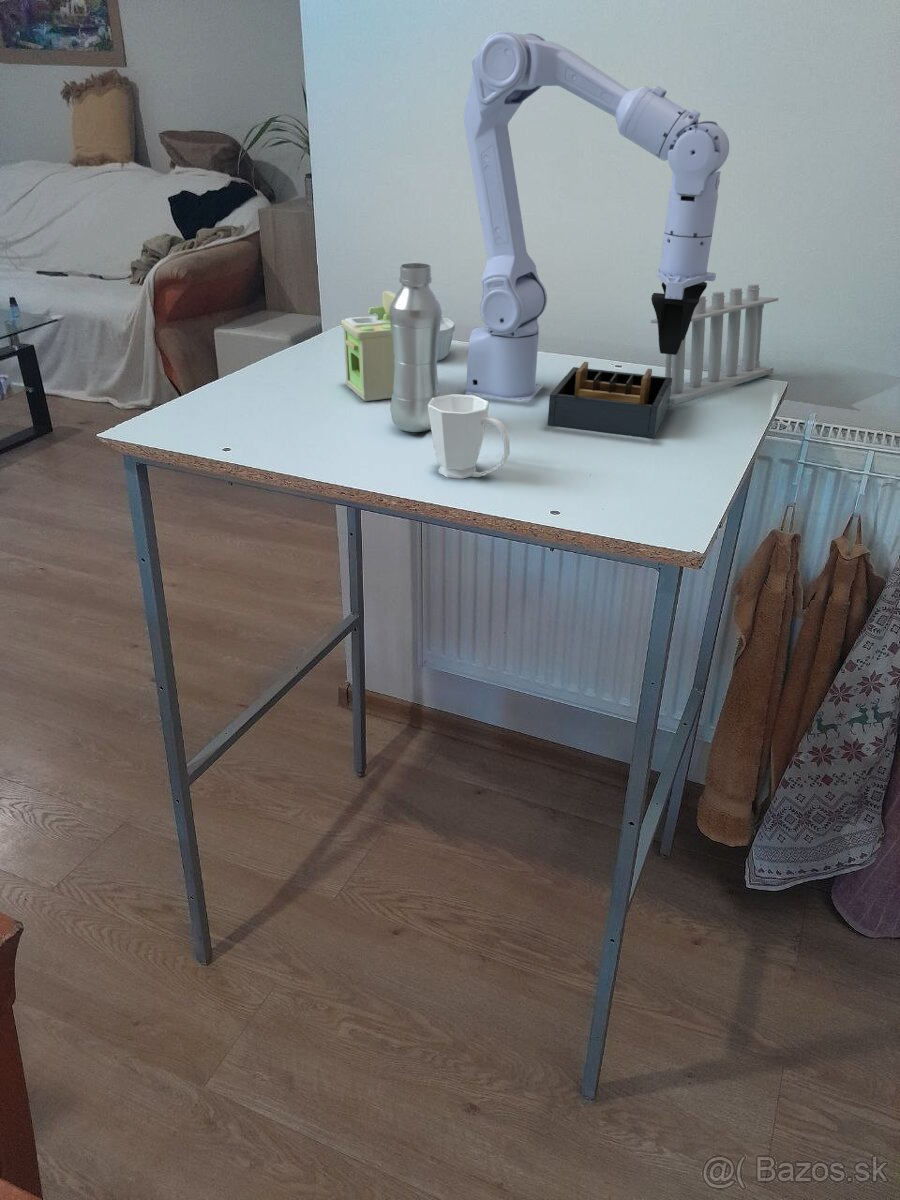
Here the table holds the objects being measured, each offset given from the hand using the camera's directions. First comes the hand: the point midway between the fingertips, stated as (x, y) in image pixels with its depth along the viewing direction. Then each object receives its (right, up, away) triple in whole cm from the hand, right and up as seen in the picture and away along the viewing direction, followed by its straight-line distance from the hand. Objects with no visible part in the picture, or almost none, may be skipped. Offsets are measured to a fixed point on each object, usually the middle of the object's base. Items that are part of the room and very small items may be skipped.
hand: (672, 346), depth 121 cm
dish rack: (-7, -8, +4) cm, 12 cm away
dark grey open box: (-7, -9, +4) cm, 12 cm away
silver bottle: (-33, -11, 0) cm, 35 cm away
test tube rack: (+10, -2, +17) cm, 20 cm away
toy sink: (-39, -3, +13) cm, 41 cm away
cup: (-26, -18, -13) cm, 35 cm away
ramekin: (-33, +6, +30) cm, 45 cm away
